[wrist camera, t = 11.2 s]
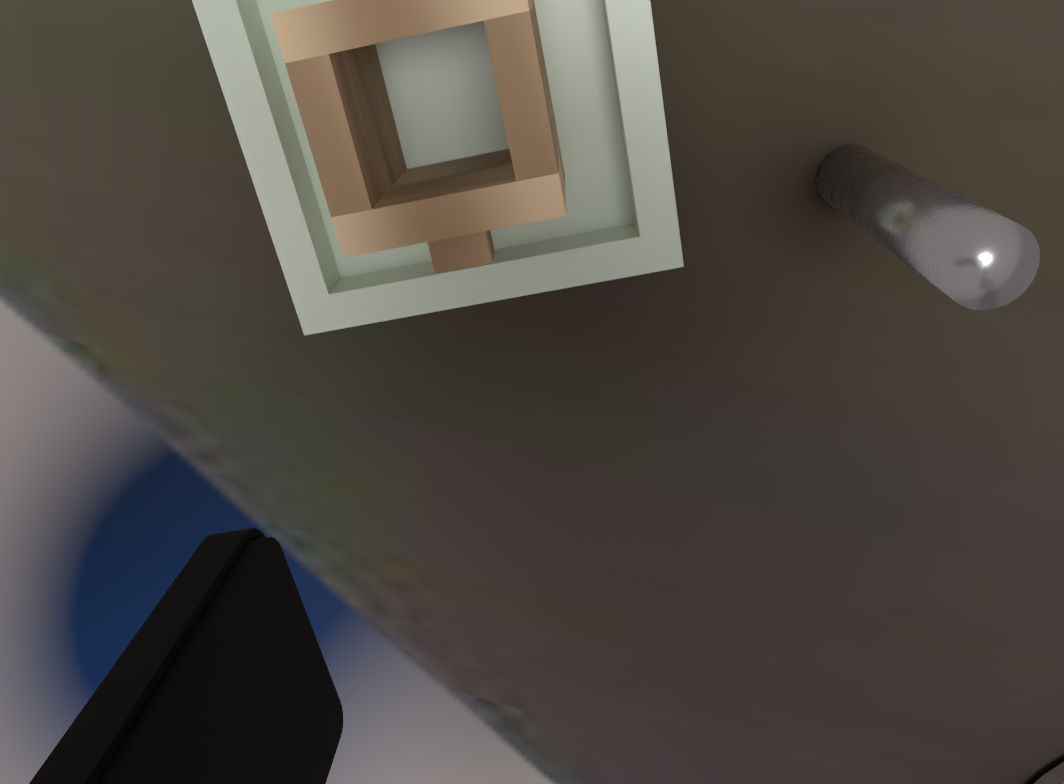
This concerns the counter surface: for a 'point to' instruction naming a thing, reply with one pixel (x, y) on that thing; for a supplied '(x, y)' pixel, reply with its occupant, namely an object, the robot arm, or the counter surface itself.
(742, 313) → the counter surface
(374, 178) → the ring
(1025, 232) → the post
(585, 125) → the tray
